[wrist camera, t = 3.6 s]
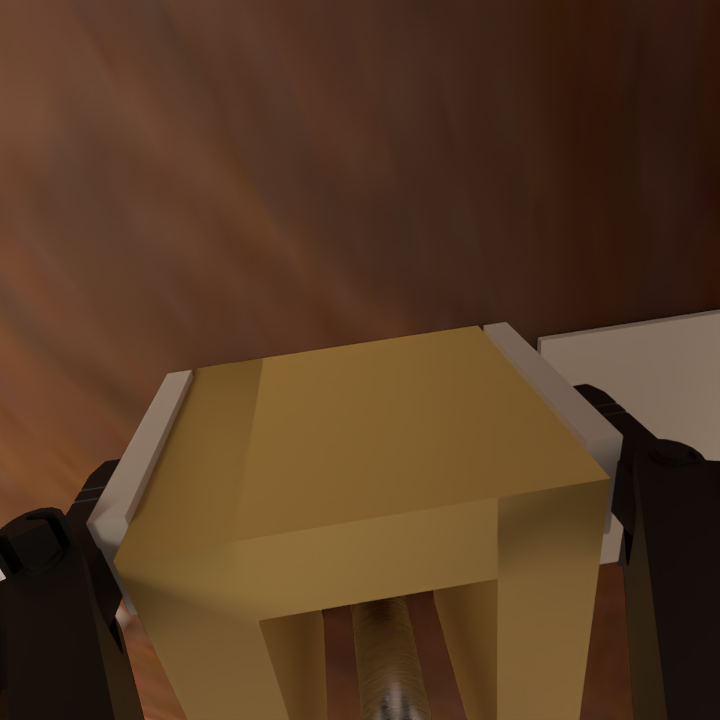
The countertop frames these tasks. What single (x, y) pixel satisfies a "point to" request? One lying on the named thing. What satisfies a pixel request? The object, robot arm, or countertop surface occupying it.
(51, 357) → the countertop surface
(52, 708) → the robot arm
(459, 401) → the c link
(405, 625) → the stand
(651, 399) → the felt mat
